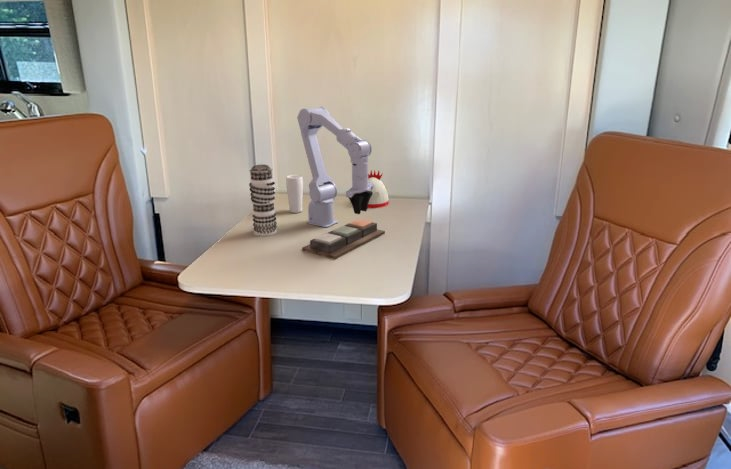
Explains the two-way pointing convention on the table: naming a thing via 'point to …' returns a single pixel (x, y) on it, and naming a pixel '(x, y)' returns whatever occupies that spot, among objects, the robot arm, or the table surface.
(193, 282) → the table surface
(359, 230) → the key board
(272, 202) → the white and black cylinder
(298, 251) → the table surface
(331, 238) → the off-white key
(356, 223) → the terracotta key
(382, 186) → the knitted chicken hat
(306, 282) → the table surface
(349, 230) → the sage key
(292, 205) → the drinking glass
